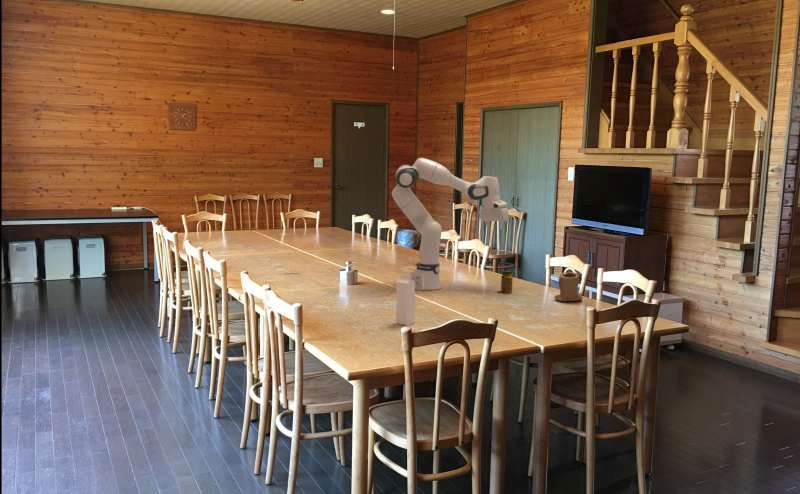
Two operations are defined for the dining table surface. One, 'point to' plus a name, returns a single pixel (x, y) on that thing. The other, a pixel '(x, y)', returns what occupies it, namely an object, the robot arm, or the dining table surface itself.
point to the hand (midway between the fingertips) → (495, 229)
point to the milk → (405, 300)
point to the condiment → (506, 283)
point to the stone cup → (568, 287)
